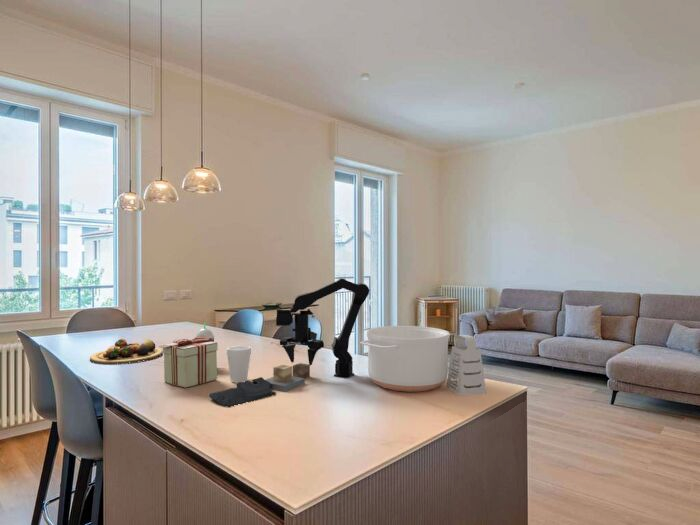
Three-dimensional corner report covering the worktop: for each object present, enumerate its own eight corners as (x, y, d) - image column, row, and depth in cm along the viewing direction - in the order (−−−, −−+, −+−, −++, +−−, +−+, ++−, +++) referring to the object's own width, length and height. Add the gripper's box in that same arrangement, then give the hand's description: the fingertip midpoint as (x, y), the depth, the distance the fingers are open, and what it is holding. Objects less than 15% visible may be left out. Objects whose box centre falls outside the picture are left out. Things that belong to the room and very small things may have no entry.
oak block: (292, 379, 166) (292, 366, 166) (283, 382, 162) (283, 369, 162) (281, 377, 169) (281, 364, 169) (273, 380, 165) (273, 367, 165)
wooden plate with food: (93, 354, 222) (93, 338, 221) (161, 348, 235) (161, 333, 235) (85, 369, 193) (85, 351, 192) (163, 361, 206) (163, 344, 206)
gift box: (189, 373, 183) (189, 332, 183) (220, 379, 173) (220, 336, 173) (153, 383, 168) (153, 338, 168) (184, 390, 159) (184, 343, 159)
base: (304, 383, 168) (304, 378, 168) (285, 391, 157) (285, 386, 157) (280, 379, 174) (280, 374, 174) (260, 386, 163) (260, 381, 163)
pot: (408, 367, 194) (408, 322, 194) (471, 381, 172) (471, 330, 172) (340, 385, 165) (340, 332, 165) (406, 405, 143) (406, 344, 143)
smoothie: (217, 365, 197) (217, 321, 197) (209, 369, 189) (209, 323, 189) (199, 364, 198) (199, 320, 198) (191, 369, 190) (191, 323, 190)
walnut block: (309, 376, 178) (309, 364, 178) (302, 379, 174) (302, 367, 174) (299, 375, 181) (300, 363, 181) (292, 377, 176) (292, 365, 176)
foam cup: (236, 385, 165) (236, 351, 165) (221, 381, 171) (221, 348, 171) (255, 379, 173) (255, 347, 173) (241, 376, 178) (241, 344, 178)
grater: (460, 395, 154) (460, 339, 153) (446, 387, 164) (446, 334, 164) (486, 393, 156) (486, 337, 156) (470, 385, 166) (471, 333, 166)
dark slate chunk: (202, 400, 149) (202, 386, 149) (255, 386, 166) (255, 374, 166) (227, 410, 139) (227, 395, 139) (281, 394, 155) (281, 381, 155)
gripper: (331, 324, 179) (331, 362, 179) (295, 321, 189) (295, 357, 189) (315, 328, 170) (315, 368, 170) (278, 324, 179) (278, 362, 179)
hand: (301, 363), depth 177 cm, fingers open, 9 cm apart
